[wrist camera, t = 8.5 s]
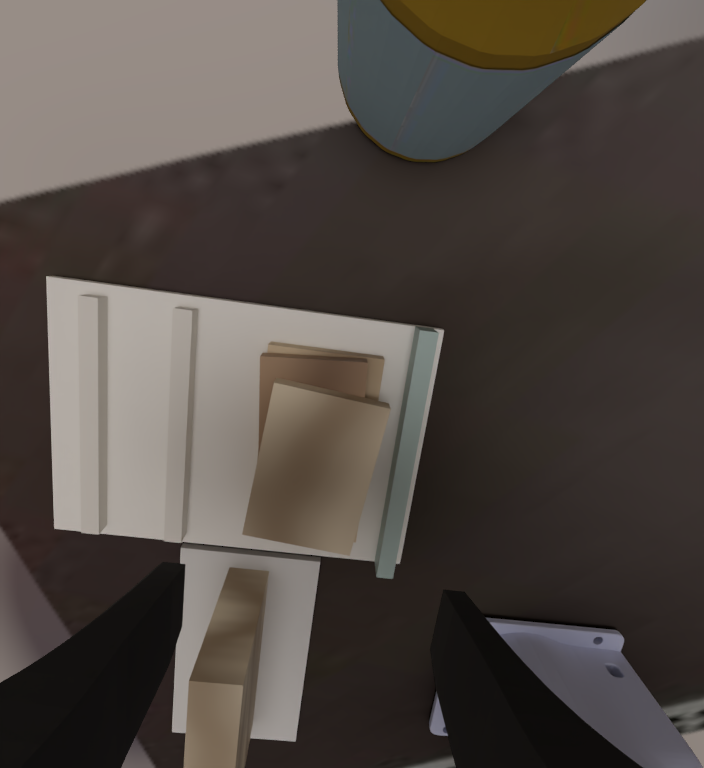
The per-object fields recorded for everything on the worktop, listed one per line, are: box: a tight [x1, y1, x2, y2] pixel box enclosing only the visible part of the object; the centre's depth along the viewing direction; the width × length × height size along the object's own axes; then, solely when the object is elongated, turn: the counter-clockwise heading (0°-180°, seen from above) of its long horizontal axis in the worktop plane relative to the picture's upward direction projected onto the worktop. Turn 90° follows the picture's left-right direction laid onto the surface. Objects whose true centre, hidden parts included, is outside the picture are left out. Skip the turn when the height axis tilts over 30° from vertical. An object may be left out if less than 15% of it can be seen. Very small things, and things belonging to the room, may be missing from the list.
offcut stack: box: [242, 341, 391, 556], centre depth 20 cm, size 6×9×2 cm, turn 172°
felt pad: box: [172, 543, 321, 741], centre depth 25 cm, size 7×12×1 cm, turn 172°
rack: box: [46, 276, 444, 579], centre depth 21 cm, size 17×12×2 cm
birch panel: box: [184, 567, 269, 768], centre depth 21 cm, size 2×10×6 cm, turn 172°
